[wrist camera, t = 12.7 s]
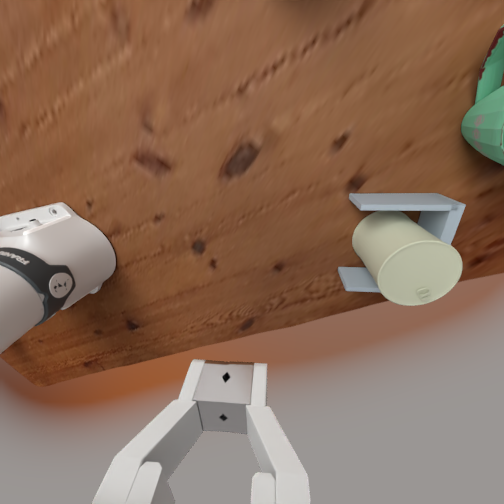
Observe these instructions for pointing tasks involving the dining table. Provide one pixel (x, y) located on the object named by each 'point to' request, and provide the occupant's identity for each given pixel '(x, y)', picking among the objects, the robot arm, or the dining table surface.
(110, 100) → the dining table surface
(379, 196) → the holder
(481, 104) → the mug
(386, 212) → the can
